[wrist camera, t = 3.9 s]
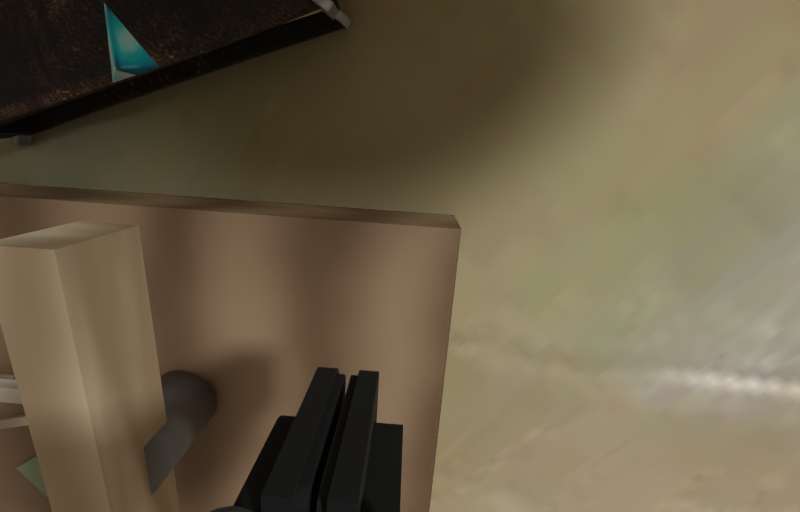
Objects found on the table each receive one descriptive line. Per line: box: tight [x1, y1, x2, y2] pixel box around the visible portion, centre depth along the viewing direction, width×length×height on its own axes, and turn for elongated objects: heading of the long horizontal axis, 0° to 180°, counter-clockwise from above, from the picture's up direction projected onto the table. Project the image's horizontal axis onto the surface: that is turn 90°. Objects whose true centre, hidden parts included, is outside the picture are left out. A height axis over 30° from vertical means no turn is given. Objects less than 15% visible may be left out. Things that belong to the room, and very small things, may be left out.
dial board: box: [0, 183, 461, 512], centre depth 20 cm, size 24×20×3 cm
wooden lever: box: [0, 221, 217, 512], centre depth 15 cm, size 12×18×6 cm, turn 176°
